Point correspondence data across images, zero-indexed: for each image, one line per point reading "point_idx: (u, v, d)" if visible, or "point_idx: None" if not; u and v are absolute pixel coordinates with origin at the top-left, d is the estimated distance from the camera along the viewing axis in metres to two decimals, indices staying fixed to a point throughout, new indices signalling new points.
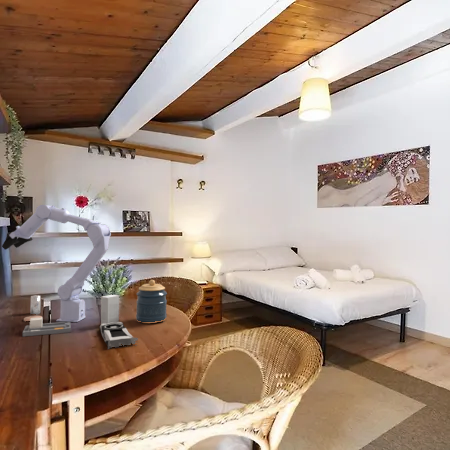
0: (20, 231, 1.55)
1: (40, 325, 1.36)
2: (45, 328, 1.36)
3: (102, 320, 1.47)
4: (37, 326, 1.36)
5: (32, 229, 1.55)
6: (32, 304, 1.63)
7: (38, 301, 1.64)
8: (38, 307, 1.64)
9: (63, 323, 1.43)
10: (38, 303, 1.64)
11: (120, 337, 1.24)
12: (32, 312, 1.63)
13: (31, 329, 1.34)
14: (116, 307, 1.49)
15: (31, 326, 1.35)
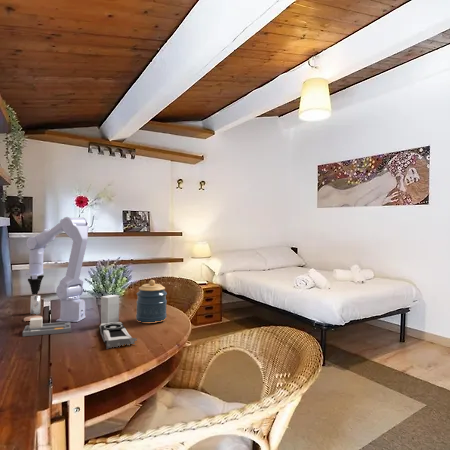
0: (34, 272, 1.62)
1: (40, 325, 1.36)
2: (45, 328, 1.36)
3: (102, 320, 1.47)
4: (37, 326, 1.36)
5: (41, 263, 1.64)
6: (32, 304, 1.63)
7: (38, 301, 1.64)
8: (38, 307, 1.64)
9: (63, 323, 1.43)
10: (38, 303, 1.64)
11: (119, 337, 1.24)
12: (32, 312, 1.63)
13: (31, 329, 1.34)
14: (116, 307, 1.49)
15: (31, 326, 1.35)
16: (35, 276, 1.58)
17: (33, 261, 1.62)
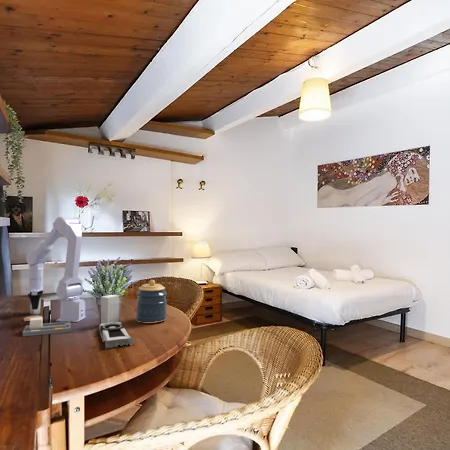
0: (34, 287, 1.62)
1: (40, 325, 1.36)
2: (45, 328, 1.36)
3: (102, 320, 1.47)
4: (37, 326, 1.36)
5: (41, 278, 1.64)
6: None
7: None
8: (38, 307, 1.64)
9: (63, 323, 1.43)
10: None
11: (118, 337, 1.23)
12: (32, 312, 1.63)
13: (31, 329, 1.34)
14: (116, 307, 1.49)
15: (31, 326, 1.35)
16: (35, 292, 1.58)
17: (33, 277, 1.62)
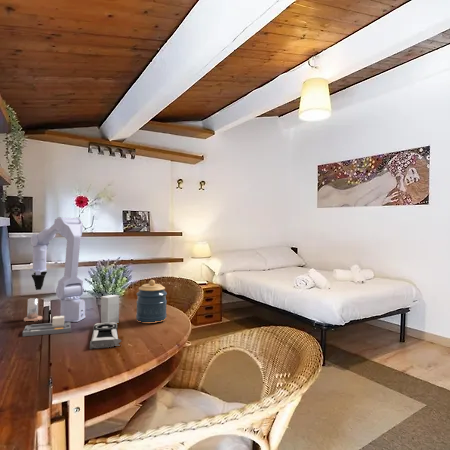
0: (37, 268, 1.68)
1: (62, 323, 1.39)
2: (45, 328, 1.36)
3: (102, 320, 1.47)
4: (59, 324, 1.39)
5: (44, 259, 1.70)
6: (29, 308, 1.53)
7: (35, 304, 1.54)
8: (35, 311, 1.54)
9: None
10: (35, 307, 1.54)
11: (104, 338, 1.23)
12: (29, 316, 1.53)
13: (31, 329, 1.34)
14: (116, 307, 1.49)
15: (54, 324, 1.38)
16: (39, 272, 1.64)
17: (35, 258, 1.68)
